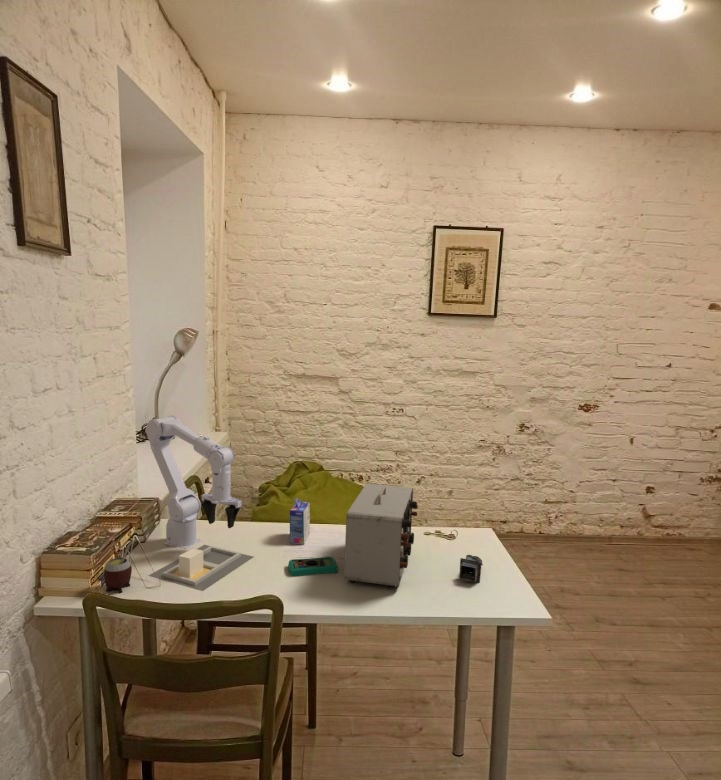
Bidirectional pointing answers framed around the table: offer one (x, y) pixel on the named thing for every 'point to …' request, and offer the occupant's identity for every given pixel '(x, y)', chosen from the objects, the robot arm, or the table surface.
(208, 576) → the grey flat tray
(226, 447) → the robot arm
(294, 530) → the ink cartridge box
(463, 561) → the ethernet keystone jack
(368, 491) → the vintage electronic device
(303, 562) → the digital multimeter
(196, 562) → the plug
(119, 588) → the mate gourd
